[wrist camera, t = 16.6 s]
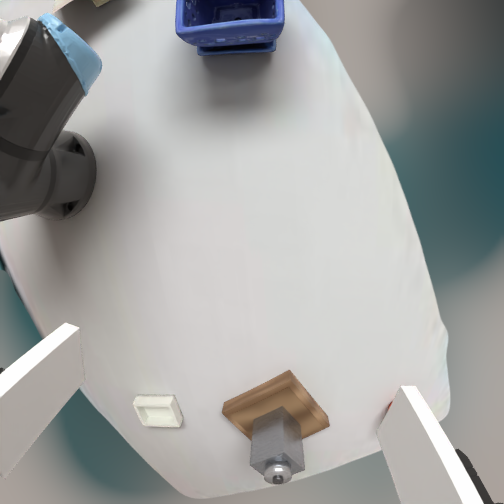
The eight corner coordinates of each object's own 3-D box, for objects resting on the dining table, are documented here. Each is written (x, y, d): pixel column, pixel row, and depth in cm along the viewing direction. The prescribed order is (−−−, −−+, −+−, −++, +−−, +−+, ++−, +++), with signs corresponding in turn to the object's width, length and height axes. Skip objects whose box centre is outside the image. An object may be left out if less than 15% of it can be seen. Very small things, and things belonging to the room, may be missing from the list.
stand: (223, 402, 51) (221, 413, 48) (289, 369, 49) (290, 380, 46) (266, 443, 53) (265, 454, 50) (327, 415, 51) (329, 426, 48)
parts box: (147, 416, 54) (143, 425, 51) (137, 394, 52) (132, 403, 49) (183, 417, 53) (179, 427, 50) (174, 394, 52) (170, 404, 49)
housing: (253, 419, 48) (248, 478, 35) (282, 405, 47) (284, 466, 34) (272, 437, 49) (271, 494, 36) (300, 424, 48) (306, 483, 35)
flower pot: (283, 61, 39) (287, 24, 27) (194, 66, 39) (172, 33, 28) (278, -4, 36) (280, -47, 24) (196, 1, 37) (179, -38, 25)
